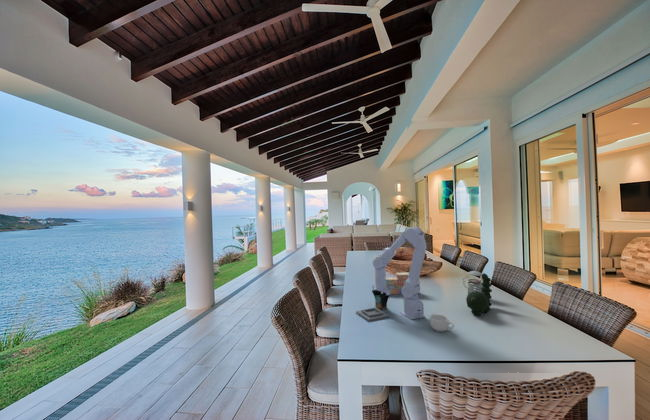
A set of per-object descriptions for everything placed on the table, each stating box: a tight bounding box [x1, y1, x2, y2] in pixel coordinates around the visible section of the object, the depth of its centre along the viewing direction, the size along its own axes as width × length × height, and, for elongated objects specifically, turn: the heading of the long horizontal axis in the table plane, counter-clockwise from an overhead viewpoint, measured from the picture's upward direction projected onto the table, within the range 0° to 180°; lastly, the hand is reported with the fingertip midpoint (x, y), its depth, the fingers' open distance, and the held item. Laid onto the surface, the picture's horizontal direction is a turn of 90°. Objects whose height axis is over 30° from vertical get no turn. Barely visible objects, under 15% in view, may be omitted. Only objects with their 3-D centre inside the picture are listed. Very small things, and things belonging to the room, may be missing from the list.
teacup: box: [429, 313, 455, 333], centre depth 122 cm, size 10×8×5 cm
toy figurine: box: [465, 273, 493, 317], centre depth 142 cm, size 10×19×26 cm
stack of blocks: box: [386, 271, 409, 295], centre depth 177 cm, size 21×6×12 cm, turn 85°
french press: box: [462, 254, 483, 297], centre depth 165 cm, size 10×12×25 cm
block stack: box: [374, 295, 388, 311], centre depth 151 cm, size 4×4×6 cm
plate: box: [355, 307, 390, 322], centre depth 141 cm, size 12×12×2 cm
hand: (381, 304), depth 151 cm, fingers open, 5 cm apart
